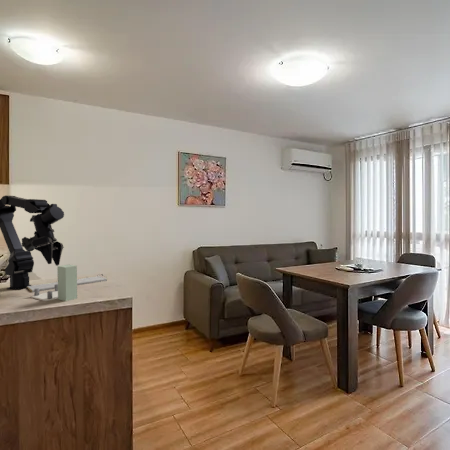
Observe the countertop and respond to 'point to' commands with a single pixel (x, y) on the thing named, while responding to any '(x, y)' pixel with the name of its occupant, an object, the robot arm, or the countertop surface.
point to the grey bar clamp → (52, 285)
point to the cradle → (46, 294)
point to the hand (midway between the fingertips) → (53, 264)
